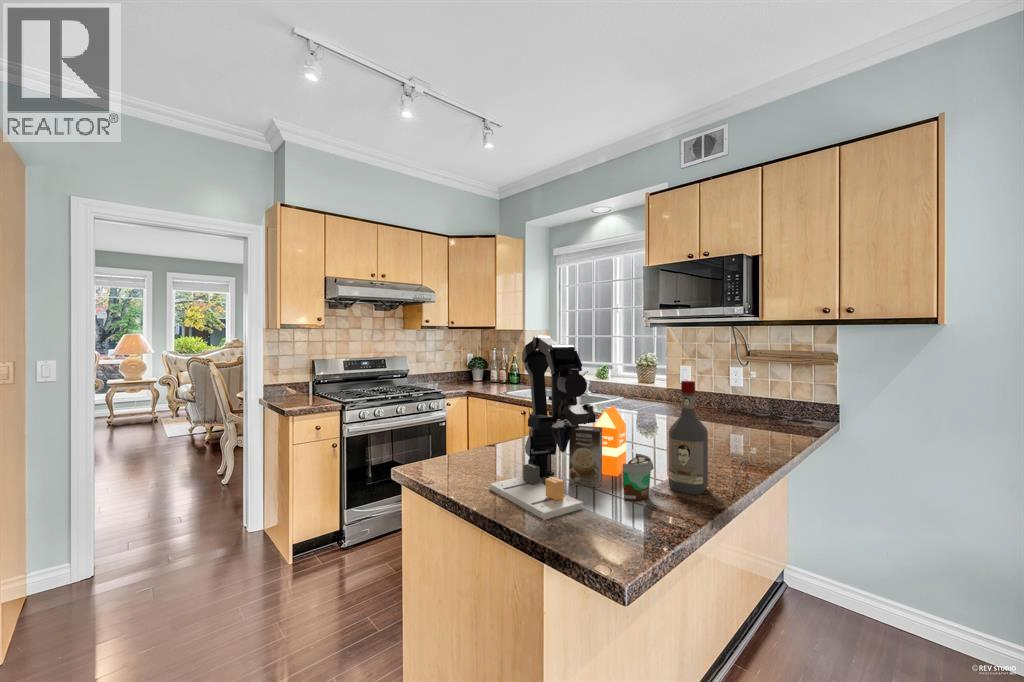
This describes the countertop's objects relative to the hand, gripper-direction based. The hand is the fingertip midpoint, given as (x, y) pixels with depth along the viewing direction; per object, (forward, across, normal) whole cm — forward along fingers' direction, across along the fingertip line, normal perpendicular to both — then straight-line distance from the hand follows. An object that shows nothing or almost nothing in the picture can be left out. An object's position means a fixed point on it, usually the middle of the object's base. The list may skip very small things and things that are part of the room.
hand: (562, 451), depth 118 cm
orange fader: (+11, -4, -2) cm, 12 cm away
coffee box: (+12, +13, +6) cm, 19 cm away
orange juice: (+12, +27, +11) cm, 32 cm away
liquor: (+13, +34, -13) cm, 38 cm away
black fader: (+10, -3, +11) cm, 15 cm away
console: (+12, -7, +4) cm, 15 cm away
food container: (+13, +18, -10) cm, 24 cm away
